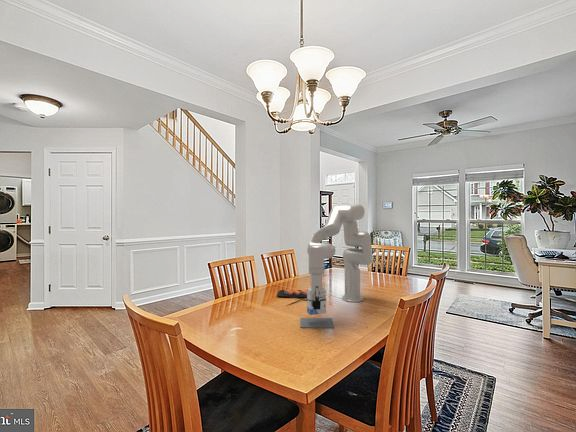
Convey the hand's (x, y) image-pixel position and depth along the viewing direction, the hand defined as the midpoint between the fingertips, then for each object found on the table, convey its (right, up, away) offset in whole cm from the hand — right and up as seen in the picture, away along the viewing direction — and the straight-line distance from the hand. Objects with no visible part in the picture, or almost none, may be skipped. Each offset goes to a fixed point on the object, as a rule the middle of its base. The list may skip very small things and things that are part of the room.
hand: (316, 306), depth 150 cm
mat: (0, -8, 0) cm, 8 cm away
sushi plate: (-7, -8, +42) cm, 43 cm away
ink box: (0, -3, 0) cm, 3 cm away
